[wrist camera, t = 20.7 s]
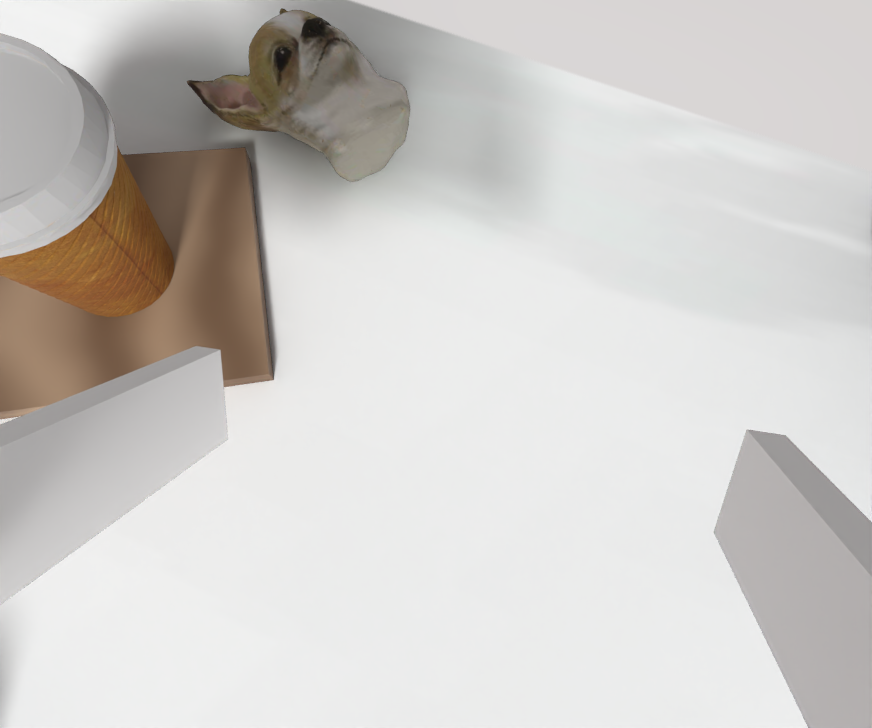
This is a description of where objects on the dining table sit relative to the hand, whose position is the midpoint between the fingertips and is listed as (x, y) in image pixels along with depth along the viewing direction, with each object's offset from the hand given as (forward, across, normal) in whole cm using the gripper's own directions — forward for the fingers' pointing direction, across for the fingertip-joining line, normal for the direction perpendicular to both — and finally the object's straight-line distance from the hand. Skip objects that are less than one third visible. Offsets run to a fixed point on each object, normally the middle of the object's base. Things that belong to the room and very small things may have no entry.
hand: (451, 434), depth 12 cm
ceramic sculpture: (+26, -16, +10) cm, 32 cm away
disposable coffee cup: (+14, -24, 0) cm, 27 cm away
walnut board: (+15, -24, -1) cm, 28 cm away
